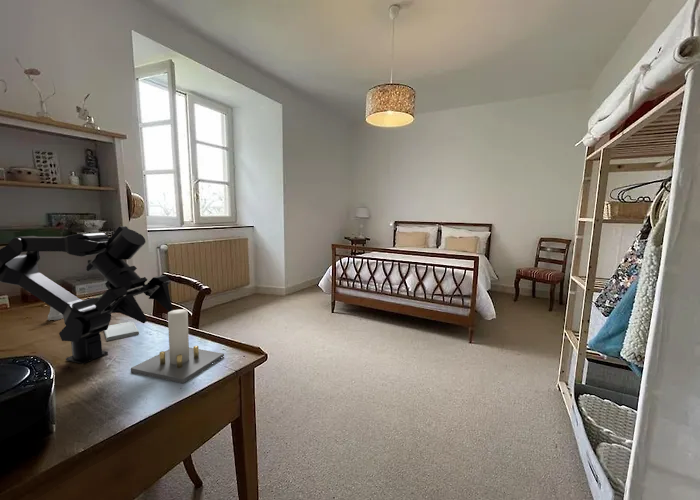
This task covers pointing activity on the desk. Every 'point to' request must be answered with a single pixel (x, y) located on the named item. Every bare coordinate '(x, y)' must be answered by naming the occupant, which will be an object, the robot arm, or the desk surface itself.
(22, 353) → the desk surface
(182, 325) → the cream post
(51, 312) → the rook chess piece
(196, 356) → the charcoal plate
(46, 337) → the desk surface
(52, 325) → the desk surface
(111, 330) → the hard drive
